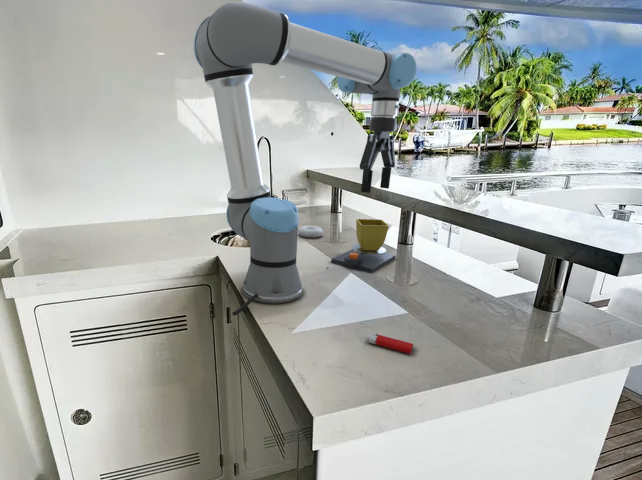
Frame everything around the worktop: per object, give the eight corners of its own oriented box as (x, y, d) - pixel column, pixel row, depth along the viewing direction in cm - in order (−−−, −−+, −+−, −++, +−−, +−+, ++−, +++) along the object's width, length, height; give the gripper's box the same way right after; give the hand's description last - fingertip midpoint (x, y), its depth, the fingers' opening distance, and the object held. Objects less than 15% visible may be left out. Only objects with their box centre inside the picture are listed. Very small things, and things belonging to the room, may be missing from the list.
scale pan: (377, 257, 118) (377, 256, 118) (345, 250, 125) (345, 248, 124) (391, 250, 126) (391, 248, 126) (361, 243, 133) (361, 242, 133)
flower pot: (385, 253, 121) (389, 225, 118) (358, 252, 121) (361, 224, 118) (379, 245, 129) (382, 219, 126) (353, 244, 129) (355, 218, 126)
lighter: (410, 349, 71) (368, 338, 75) (409, 355, 71) (367, 343, 75) (413, 342, 73) (372, 331, 77) (412, 348, 74) (371, 337, 77)
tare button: (355, 260, 116) (355, 255, 116) (347, 258, 118) (348, 253, 117) (359, 258, 118) (359, 253, 117) (351, 256, 120) (352, 252, 119)
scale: (369, 274, 113) (370, 264, 112) (328, 263, 121) (329, 254, 120) (395, 259, 127) (396, 250, 126) (357, 250, 135) (358, 242, 134)
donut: (308, 231, 160) (292, 235, 153) (308, 223, 159) (293, 226, 152) (327, 236, 154) (312, 240, 147) (328, 227, 153) (313, 231, 146)
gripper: (377, 115, 100) (368, 195, 107) (411, 119, 119) (402, 187, 126) (352, 115, 105) (345, 192, 112) (388, 119, 123) (380, 185, 130)
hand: (375, 190), depth 119 cm, fingers open, 13 cm apart
